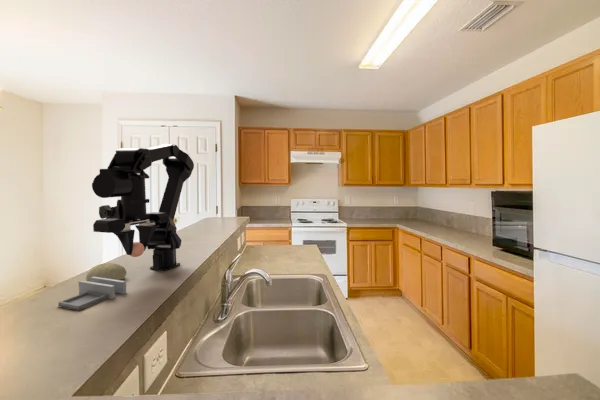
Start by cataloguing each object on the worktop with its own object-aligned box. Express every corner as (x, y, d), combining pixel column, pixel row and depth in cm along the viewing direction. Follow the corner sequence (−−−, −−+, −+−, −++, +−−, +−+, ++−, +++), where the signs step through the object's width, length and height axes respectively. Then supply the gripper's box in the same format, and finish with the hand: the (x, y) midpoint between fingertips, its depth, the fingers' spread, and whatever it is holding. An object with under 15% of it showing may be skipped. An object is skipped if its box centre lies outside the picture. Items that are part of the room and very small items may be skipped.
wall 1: (82, 292, 71) (81, 280, 71) (115, 297, 68) (114, 285, 68) (79, 293, 70) (78, 281, 70) (112, 299, 67) (111, 286, 67)
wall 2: (94, 287, 74) (93, 276, 74) (126, 292, 71) (125, 281, 70) (91, 288, 73) (90, 277, 73) (123, 294, 70) (122, 282, 70)
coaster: (87, 295, 69) (87, 291, 69) (107, 298, 67) (106, 294, 67) (58, 306, 63) (58, 302, 63) (78, 310, 61) (78, 306, 61)
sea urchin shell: (109, 281, 73) (89, 259, 74) (92, 301, 75) (73, 279, 75) (136, 270, 82) (118, 250, 83) (121, 287, 84) (103, 268, 84)
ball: (137, 254, 80) (136, 240, 79) (148, 255, 78) (147, 241, 78) (124, 258, 76) (123, 243, 76) (135, 259, 75) (134, 244, 74)
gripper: (139, 193, 87) (142, 243, 88) (75, 197, 70) (79, 259, 71) (168, 194, 84) (170, 245, 85) (108, 197, 66) (112, 263, 67)
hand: (136, 252), depth 77 cm, fingers closed on ball, 4 cm apart
